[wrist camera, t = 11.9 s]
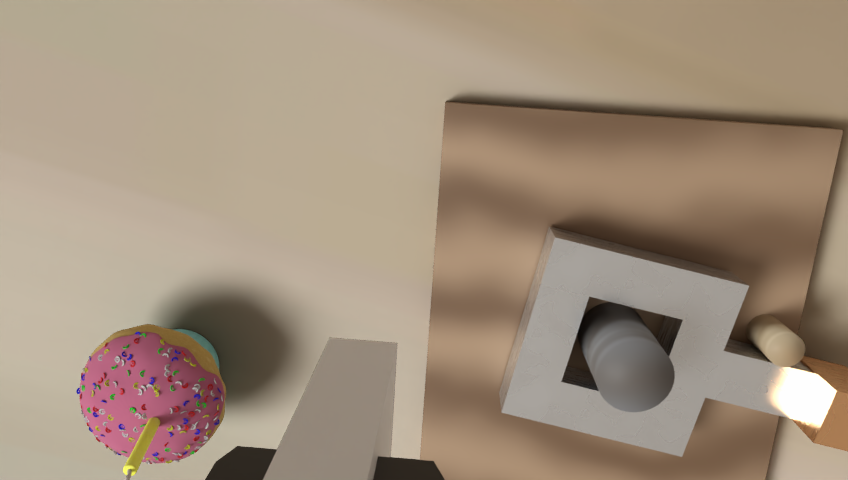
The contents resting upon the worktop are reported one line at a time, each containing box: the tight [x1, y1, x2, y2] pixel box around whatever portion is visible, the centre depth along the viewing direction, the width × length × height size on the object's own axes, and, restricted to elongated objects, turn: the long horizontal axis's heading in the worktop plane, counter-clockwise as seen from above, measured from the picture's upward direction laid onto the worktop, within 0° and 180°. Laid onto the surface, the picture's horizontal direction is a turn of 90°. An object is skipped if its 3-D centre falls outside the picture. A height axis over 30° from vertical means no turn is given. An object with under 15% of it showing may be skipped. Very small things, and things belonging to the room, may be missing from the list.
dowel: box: [746, 314, 805, 367], centre depth 39 cm, size 2×2×3 cm
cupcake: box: [77, 324, 226, 480], centre depth 39 cm, size 9×8×12 cm
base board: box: [420, 102, 843, 480], centre depth 39 cm, size 26×22×7 cm
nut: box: [499, 227, 848, 457], centre depth 39 cm, size 20×11×5 cm, turn 76°
